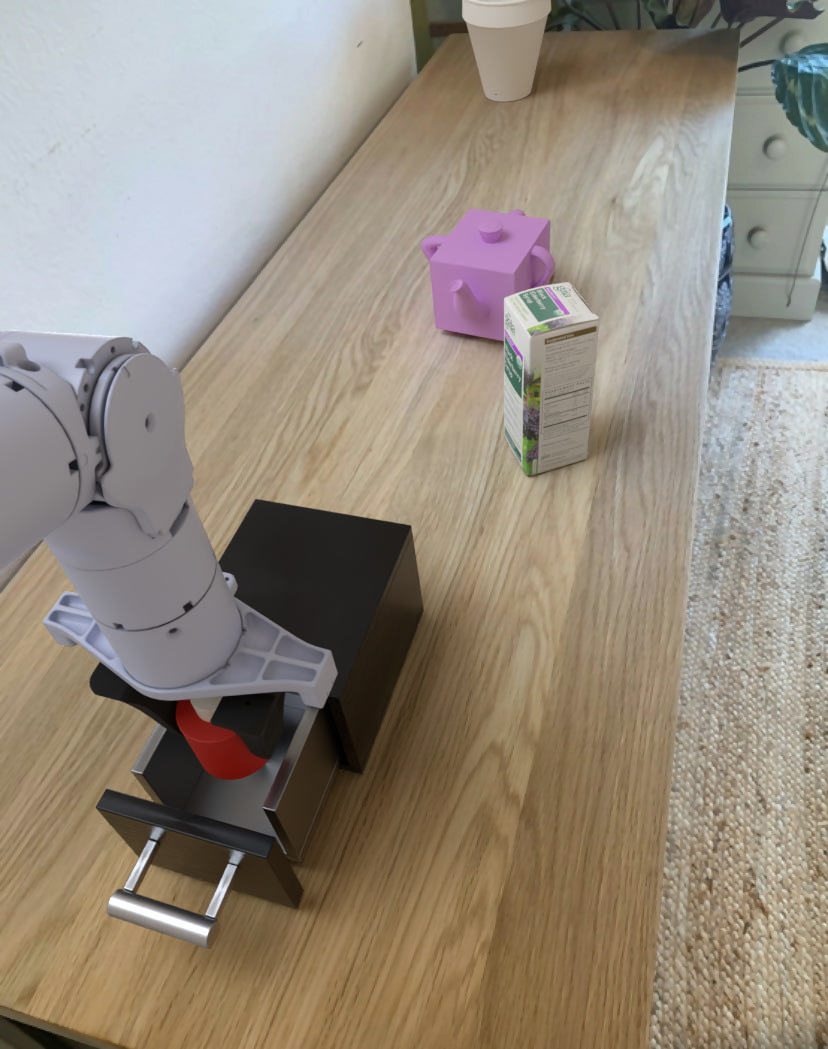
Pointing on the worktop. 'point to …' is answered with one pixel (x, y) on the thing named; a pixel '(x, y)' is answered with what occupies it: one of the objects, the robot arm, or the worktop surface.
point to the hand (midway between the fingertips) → (231, 731)
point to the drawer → (223, 821)
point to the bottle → (215, 741)
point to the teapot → (486, 268)
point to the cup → (506, 43)
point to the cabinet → (335, 602)
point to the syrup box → (548, 376)
